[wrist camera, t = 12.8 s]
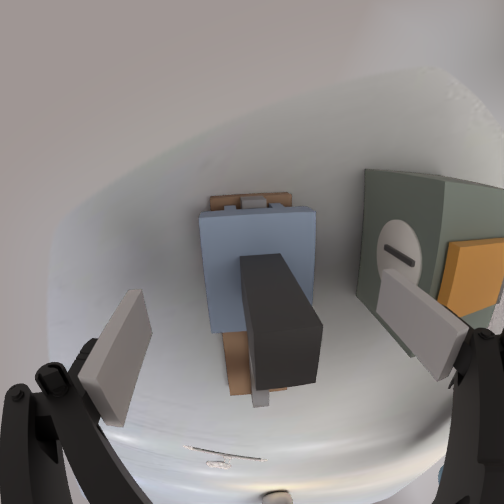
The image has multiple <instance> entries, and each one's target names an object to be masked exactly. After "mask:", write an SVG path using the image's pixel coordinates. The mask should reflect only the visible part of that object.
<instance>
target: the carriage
mask: <svg viewBox="0 0 504 504" xmlns="http://www.w3.org/2000/svg"><path fill="white" fill-rule="evenodd" d="M199 228H200V239H201V249H202V259H203V268H204V277H205V286H206V294H207V302H208V310H209V318H210V325H211V332H212V333H225V332H239V331H247V336H248V342H249V349H250V355H251V362H252V368H253V374H254V381H255V387H256V391H261V390H269V389H278V388H285V387H292V386H299V385H305V384H311V383H316V376H317V369H318V362H319V355H320V347H321V339H322V331H323V325H322V323H321V321H320V319H319V318H318V316H317V314H316V313H315V311H314V309H313V307H312V300H313V284H314V265H315V237H316V211H314V210H312V209H311V208H309V207H307V206H298V207H284V206H283V205H282V204H280V203H269V208H254V209H236V206H235V205H230V206H224V210H221V211H207V212H201V214H200V216H199Z"/></svg>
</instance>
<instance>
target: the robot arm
mask: <svg viewBox="0 0 504 504" xmlns="http://www.w3.org/2000/svg"><path fill="white" fill-rule="evenodd" d="M376 312H377V313H378V314H379V315H380V317H381V318H382V319H383V320H384V321H385V322H386V323H387V324H388V325H389V326H390V328H391V329H392V330H393V331H394V332H395V333H396V334H397V335H398V336H399V338H400V339H401V340H402V341H403V342H404V343H405V344H406V346H407V347H408V348H409V349H410V350H411V351H412V352H413V354H414V355H415V356H416V357H417V358H418V359H419V361H420V362H421V363H422V364H423V365H424V366H425V368H426V369H427V370H428V371H429V372H430V374H431V375H432V376H433V377H434V378H435V380H436V381H439V380H442V379H444V378H446V377H448V376H449V374H450V372H451V370H452V368H453V367H454V368H455V369H456V370H457V371H456V373H455V375H454V377H453V379H452V381H451V383H450V385H449V387H448V389H450V388H451V386H452V385H453V384H454V388H453V389H454V392H453V407H452V417H451V426H450V434H449V440H448V446H447V452H446V457H445V462H444V465H443V466H442V467H441V468H440V471H439V475H438V482H439V488H438V491H437V495H436V497H435V500H434V501H433V503H432V504H504V328H503V331H502V333H501V334H500V335H495V334H494V333H493V332H492V331H490V330H489V329H486V328H480V327H479V328H476V329H473V328H472V327H471V326H470V325H469V324H467V323H466V322H465V321H464V320H463V319H461V318H460V317H458V315H457V314H455V313H453V311H452V310H450V309H449V308H448V307H446V306H444V305H442V304H440V303H439V302H437V301H436V300H435V299H433V298H432V297H431V296H430V295H428V294H427V293H426V292H424V291H423V290H422V289H420V288H419V287H418V286H416V285H415V284H414V283H412V282H411V281H410V280H408V279H407V278H406V277H404V276H403V275H402V274H400V273H399V272H398V271H396V270H395V269H385V270H383V273H382V279H381V286H380V292H379V298H378V303H377V309H376ZM151 336H152V329H151V326H150V322H149V318H148V314H147V309H146V305H145V301H144V296H143V292H142V289H137V290H128V292H127V293H126V295H125V296H124V298H123V299H122V301H121V303H120V304H119V306H118V307H117V309H116V310H115V312H114V314H113V315H112V317H111V319H110V320H109V322H108V323H107V325H106V327H105V328H104V330H103V332H102V333H101V335H100V337H99V339H96V338H92V339H91V340H89V341H88V342H87V343H86V344H85V345H84V346H83V348H82V349H81V351H80V354H78V356H77V357H76V360H75V361H74V363H73V364H72V366H71V368H70V369H69V371H68V373H67V371H66V369H65V367H64V366H63V364H61V363H59V362H51V363H47V364H46V365H43V366H42V367H41V368H40V369H39V370H38V371H37V373H36V375H35V380H36V382H37V384H38V385H39V387H40V388H41V390H42V392H39V393H32V392H31V390H30V389H29V387H28V386H27V385H25V384H16V385H14V386H12V387H11V388H10V389H9V390H8V391H7V393H6V395H5V400H4V407H3V415H2V424H1V434H0V494H1V504H73V503H72V499H71V495H70V490H69V486H68V481H67V476H66V471H65V465H64V458H63V451H62V447H63V450H64V452H65V455H66V457H67V459H68V462H69V464H70V466H71V468H72V470H73V473H74V475H75V477H76V479H77V481H78V483H79V485H80V487H81V489H82V490H83V492H84V494H85V496H86V498H87V500H88V501H89V503H90V504H153V503H152V502H151V500H150V499H149V498H148V497H147V496H146V494H145V493H144V492H143V491H142V489H141V488H140V487H139V485H138V484H137V483H136V481H135V480H134V479H133V477H132V476H131V475H130V473H129V472H128V470H127V469H126V467H125V466H124V464H123V463H122V462H121V460H120V459H119V457H118V455H117V454H116V452H115V451H114V449H113V448H112V446H111V444H110V443H109V441H108V439H107V438H106V436H105V434H104V433H103V431H102V429H101V427H100V426H99V424H98V423H99V420H100V417H101V418H102V419H103V421H104V422H105V424H106V425H109V426H116V427H124V423H125V419H126V416H127V412H128V409H129V405H130V402H131V398H132V395H133V392H134V388H135V385H136V382H137V379H138V375H139V372H140V369H141V366H142V363H143V360H144V357H145V354H146V351H147V348H148V345H149V342H150V339H151Z"/></svg>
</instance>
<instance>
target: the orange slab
mask: <svg viewBox="0 0 504 504" xmlns="http://www.w3.org/2000/svg"><path fill="white" fill-rule="evenodd" d="M503 290H504V237H502V238H492V239H480V240H469V241H457V242H449V247H448V253H447V258H446V264H445V269H444V274H443V278H442V283H441V287H440V291H439V295H438V299H437V302H439V303H440V304H442V305H444V306H446V307H448V308H449V309H450V310H452V311H453V313H455V314H457V315H458V317H463V316H465V315H468V314H471V313H474V312H476V311H479V310H481V309H484V308H487V307H489V306H492V305H494V304H498V303H500V299H501V296H502V293H503Z"/></svg>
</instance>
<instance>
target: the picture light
mask: <svg viewBox="0 0 504 504" xmlns="http://www.w3.org/2000/svg"><path fill="white" fill-rule="evenodd" d="M183 446H184V445H183ZM184 447H185V448H187V449H190V450H195V451H200V452H204V453H209V454H215V455H220V456H223V458H228V459H232V458H239V459H246V460H255V461H268V460H267V459H260V458H251V457H244V456H237V455H230V454H225V453H219V452H214V451H209V450H204V449H199V448H195V447H191V446H190V447H189V446H184ZM224 462H225V459H224ZM224 462H218V461H217V462H214V461H207V462H206V464H207V465H209V467H216V468H223V469H225V470H226V469H228V468H230V467H231V465H230V461H229V464H226V463H224Z"/></svg>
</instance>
